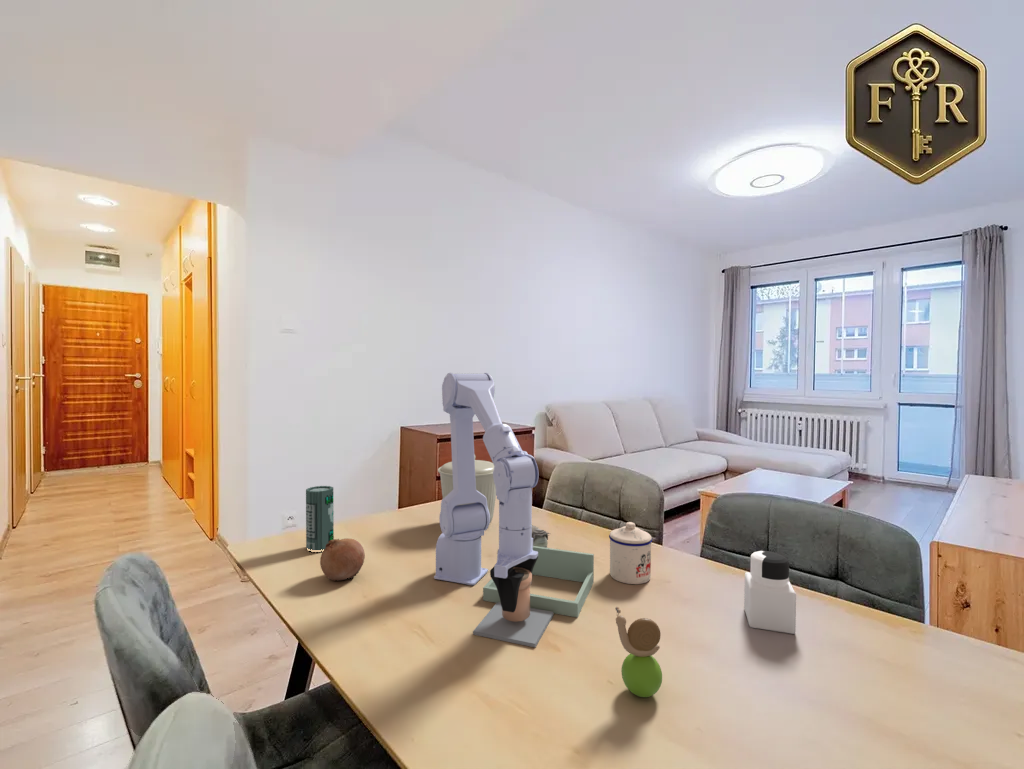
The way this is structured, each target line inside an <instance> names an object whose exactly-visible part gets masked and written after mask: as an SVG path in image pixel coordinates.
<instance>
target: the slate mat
mask: <svg viewBox="0 0 1024 769" xmlns="http://www.w3.org/2000/svg"><path fill="white" fill-rule="evenodd" d="M554 614H555V613H554V612H551V611H546V610H540V609H535V608H530V616H529V617H528V618H527V619H525V620H523V621H518V622H514V621H509V620H506V619H505V618H504V617H503V616H502V606H501V602H497V603H495V604H494V605H493V607H491V609H490V611H488V612H487V614H486V615H485V616H484V617H483V619H482V620H481V621H480V622H479V623H478V625H476V627H475V628H474V629H473V630H472V635H474V636H478V637H484V638H489V639H493V640H498V641H502V642H508V643H511V644H512V643H513V644H517V645H522V646H527V647H532V648H537V646H538V644H539V642H540V641H541V639H542V638H543V635H544V633H545V631H546V630H547V627H548V626H549V625H550V622H551V620H552V619H553V617H554Z"/></svg>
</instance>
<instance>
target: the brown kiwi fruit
mask: <svg viewBox="0 0 1024 769" xmlns="http://www.w3.org/2000/svg"><path fill="white" fill-rule="evenodd" d="M327 543H328V542H327ZM325 547H326V548H325V549H324V551H323V552H321V554H320V559H319V560H320V562H319V563H320V569H321V571H322V573H323V574H324V576H325V577H326V578H327V579H329V580H331V581H334V582H336V581H335V580H337V581H344V580H350V578H351V579H353V578H354V577H355V576H356V577H357V575H358V574H359V572H360V571H361V569H362V567H363V566H364V562H365V558H366V555H365V554H366V553H365V549H364V547H363V545H362V544H361V543H360V542H359V541H357V539H355V538H342V539H339V538H336V539H334V540H331V541H329V543H328V544H326V546H325ZM347 578H348V579H347Z"/></svg>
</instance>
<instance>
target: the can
mask: <svg viewBox="0 0 1024 769" xmlns="http://www.w3.org/2000/svg"><path fill="white" fill-rule="evenodd" d="M334 513H335V511H334V486H330V485H317V486H316V485H315V486H310V487H307V488H306V489H305V535H306V536H305V538H306V540H305V543H306V544H305V546H306V548H308V549H310V550H311V549H312V550H321V549H322V550H323V549H325V548H326V547H325V546H326V544H328V543H329V541H331V540H334V538H335V537H334V535H335V534H334V533H335V532H334V531H335V530H334V528H335V527H334V525H335V524H334V522H335V521H334V520H335V519H334V517H335V516H334ZM327 542H328V543H327ZM306 548H305V549H306Z"/></svg>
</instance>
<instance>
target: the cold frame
mask: <svg viewBox="0 0 1024 769" xmlns="http://www.w3.org/2000/svg"><path fill="white" fill-rule="evenodd" d="M532 549H533V551H537V552H538V559H537V561H536V563H535V565H534V568H533V570H532V576H533V575H534V576H541V577H547V578H554V579H561V580H565V581H566V580H567V581H573V582H579V583H582V585H581V587H580V588H579V591H578V593H577V595H576V597H575V599H574V600H572V599H571V600H570V599H564V598H557V597H552V596H546V595H541V594H534V593H530V608H535V609H540V610H546V611H551V612H554V614H555V615H561V616H566V617H567V616H568V617H571V618H577V619H578V617H579V616H580V613H581V611H582V610H583V606H584V604H585V602H586V599H587V598H588V595H589V593H590V591H591V589H592V586H593V585H594V578H595V577H594V576H595V575H594V574H595V573H594V571H595V569H594V568H595V560H594V558H595V554H594V553H590V552H581V551H576V550H575V551H573V550H567V549H558V548H552V547H547V548H545V547H538V546H533V548H532ZM482 601H484V602H490V603H495V604H496V603H497V602H500V597H499V594H498V590H497V587H496V585H495V583H494V581H493V580H492V578H491V579H489V581H488V582H487V583H486V584H485V585H484V586H483V587H482Z"/></svg>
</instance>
